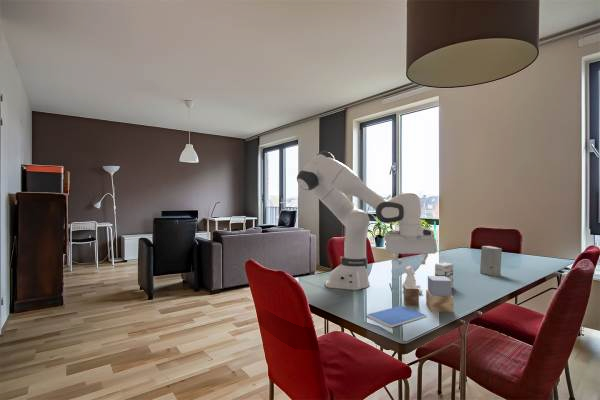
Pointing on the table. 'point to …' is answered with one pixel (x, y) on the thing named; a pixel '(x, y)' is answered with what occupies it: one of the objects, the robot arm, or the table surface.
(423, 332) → the table surface
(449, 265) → the ink box
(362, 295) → the table surface
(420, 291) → the seated beast figurine
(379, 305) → the table surface
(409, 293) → the walnut block
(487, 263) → the skincare box
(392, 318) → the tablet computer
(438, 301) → the oak block
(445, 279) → the slate block
